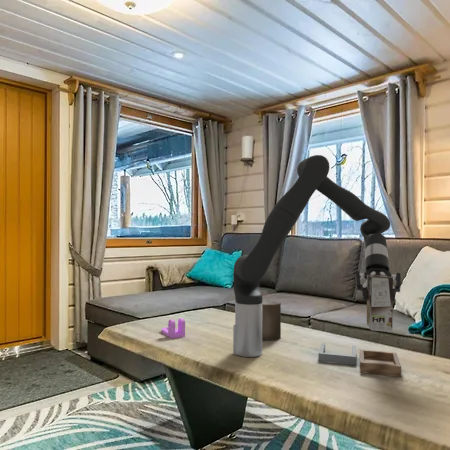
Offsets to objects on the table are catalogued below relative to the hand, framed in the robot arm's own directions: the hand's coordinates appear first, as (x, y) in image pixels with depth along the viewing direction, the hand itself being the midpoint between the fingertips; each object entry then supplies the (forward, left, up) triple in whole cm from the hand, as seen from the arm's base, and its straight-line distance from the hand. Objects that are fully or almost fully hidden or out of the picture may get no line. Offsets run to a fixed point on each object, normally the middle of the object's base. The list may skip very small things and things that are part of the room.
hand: (378, 300), depth 125 cm
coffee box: (0, 0, -9) cm, 9 cm away
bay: (-13, +6, -20) cm, 25 cm away
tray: (0, -1, -20) cm, 20 cm away
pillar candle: (-40, +22, -21) cm, 50 cm away
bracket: (-77, +14, -21) cm, 81 cm away
